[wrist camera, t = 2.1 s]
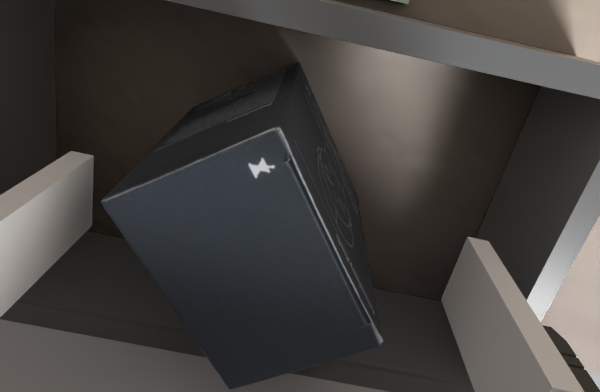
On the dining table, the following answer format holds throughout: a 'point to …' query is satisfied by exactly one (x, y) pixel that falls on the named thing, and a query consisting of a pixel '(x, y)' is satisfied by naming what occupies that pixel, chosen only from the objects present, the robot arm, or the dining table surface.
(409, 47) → the case
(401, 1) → the pad
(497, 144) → the dining table surface
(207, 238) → the box
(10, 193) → the robot arm
